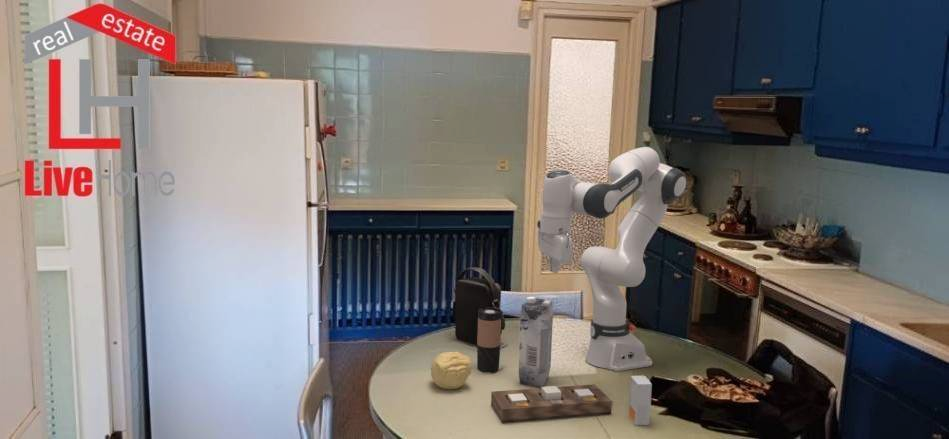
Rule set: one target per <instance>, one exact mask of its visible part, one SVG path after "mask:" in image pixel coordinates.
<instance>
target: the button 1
mask: <svg viewBox="0 0 949 439" xmlns="http://www.w3.org/2000/svg"><path fill="white" fill-rule="evenodd" d="M508 401H509V403H510V404H516V403H527V399H526V397H525V396H524V394H523V393H521V394H508Z"/></svg>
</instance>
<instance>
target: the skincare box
mask: <svg viewBox="0 0 949 439" xmlns="http://www.w3.org/2000/svg"><path fill="white" fill-rule="evenodd" d="M629 387H630V390H629V402H628V417H629V418H630V419H631V421H632V422H633V425H635V426H649V425H650V421H651V420H650V419H651V404H652V390H653V388H652V387H653V384H652V383H651V381H650V380H649V378H647V376H646V375H631V376H630V386H629Z"/></svg>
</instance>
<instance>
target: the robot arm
mask: <svg viewBox="0 0 949 439" xmlns="http://www.w3.org/2000/svg"><path fill="white" fill-rule="evenodd" d="M608 178H609V181H610V184H609V183H595V182H588V181H581V180H580V179H577V178H576V177H574V176H573V175H572V173H571V171H569V170H552V171H550V172H548V173H547V174H546V175H545V177H544V180H543V183H542V184H543V185H542V194H541V195H542V196H541V203H542V211H541V214H540V215H541V216H540V219H539V220H537V221H536V228H538V229H537V240H538V241H537V244H538V245H537V246H538V249H539V251H540V252H542V253H543V254H545V255H546V256H548V258H547V260H548V265H549V272H551V273H553V274H558V273H559V269H560V265H561V264H562V265H565V264H572V263H573V257H574V256H573V255H574V254H573V250H574V249H573V240H572V237H571V236H569V234H571V233H572V213H575V214H578V215H585V216H591V217H593V218H597V219H607V218H608V217H610V215H612V214H613V212H615V210H616V208H618V206H619V205H620V204H621V203H622V202H623V201H626V199H627V198H629V197H630V196H632V195H633V194H634V193H635V192H636V191H639V192H641V193H642V194H641V196H640V198H639V199H637V201H636V202H635V203H634V204H633V206H632V207H631V208H630V210H629V211H628V212H627V214H626V215H625V216H624V218H623V220H622V221H621V222H620V224H619V225H618V227H617V230H616V234H617V237H618V239H619V242H618V244H617V246H616V248H614V249H613V248H609V247H606V246H590V247H588V248H586V249H585V250H584V251H583V253H582V255H581V259H580V265H581V268H582V270H583V271H584V273H585V274H586V276H587V279H588V282H589V284H590V285H589V286H590V288H591V294H592V319H591V320H590V329H589V330H590V340H589V346H588V351H587V353H586V356H585V362H587V363H588V364H590V365H591V366H594V367H598V368H602V369H608V370H611V371H615V372H621V371H627V370H633V369H640V368H641V369H642V368H646V367H651V366H653V360H652V358H650V356H648V355H647V352H646V348H645V344H644V343H643V342H642V341H641V340H639V339H638V337H636V336H635V335H633V333H631V332H635V331H636V329H637V328H636V326H635V325H633V324H630V323H629V322H627V321H626V319H627V318H626V317H627V306H628V305H627V300H626V297H625V295H624V293H622V291H621V288H620V287H625V288H626V287H627V288H634V287H637V286H639V285H640V284H641V283H642V282H643V280H644V279H645V277H646V265H645V263H644V253H645V250H646V248H647V245H648V244H649V242H650V241H651V239H652V237H653V235H655V233H656V231H657V229H658V228H659V227H660V224H661V223H662V221H663V219H664V217H665V215H666V213H667V209H668V205H670V204H672V203H673V202H675V201H676V200H678V199H679V198H681V196H682V195H683V194H684V193H685V190H686V188H687V185H688V179H687V176H686V173H685V172H684V171H682V170H681V169H678V168H676V167H673V166H670V165H668V164H664V163H661V160H660V155H659V154H658V153H657V151H656V150H655V149H653V148H651V147H649V146H643V147H642V146H641V147H637V148H634V149H631V150H628V151H627V152H624V153H622V154H620V155H619V156H616V157H615V158H614V159H612V161H611V162H610V163H609V166H608Z"/></svg>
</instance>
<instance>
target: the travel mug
mask: <svg viewBox="0 0 949 439" xmlns="http://www.w3.org/2000/svg"><path fill="white" fill-rule="evenodd" d="M501 311H502V310H501V308H500V309H498V308H494V307H487V308H486V309H481V308H480V309H479V310H478V335H477V347H476V353H477V354H476V358H477V359H476V361H477V362H476V364H477V365H476V366H477V367H476V369H477V371H479V372H481V373H485V374H486V373H487V374H492V373H497V372H498V371H499V370H500V361H501V360H500V358H501V357H500V356H501V348H500V344H501V343H502V342H501V340H502V339H501V337H502V336H501V335H502V334H501Z"/></svg>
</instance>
